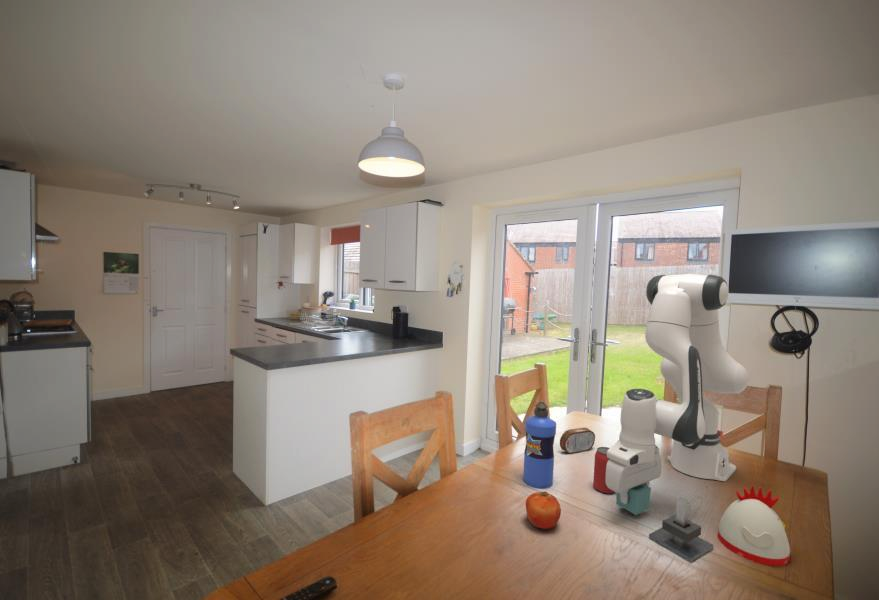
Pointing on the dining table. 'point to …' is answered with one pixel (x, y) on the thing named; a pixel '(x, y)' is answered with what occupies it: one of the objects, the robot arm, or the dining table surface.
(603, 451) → the beer can
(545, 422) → the water bottle
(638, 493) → the sleeve
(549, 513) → the tomato
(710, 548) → the pipe stand
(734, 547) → the kitchen timer
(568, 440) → the tin
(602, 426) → the dining table surface
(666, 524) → the ring
